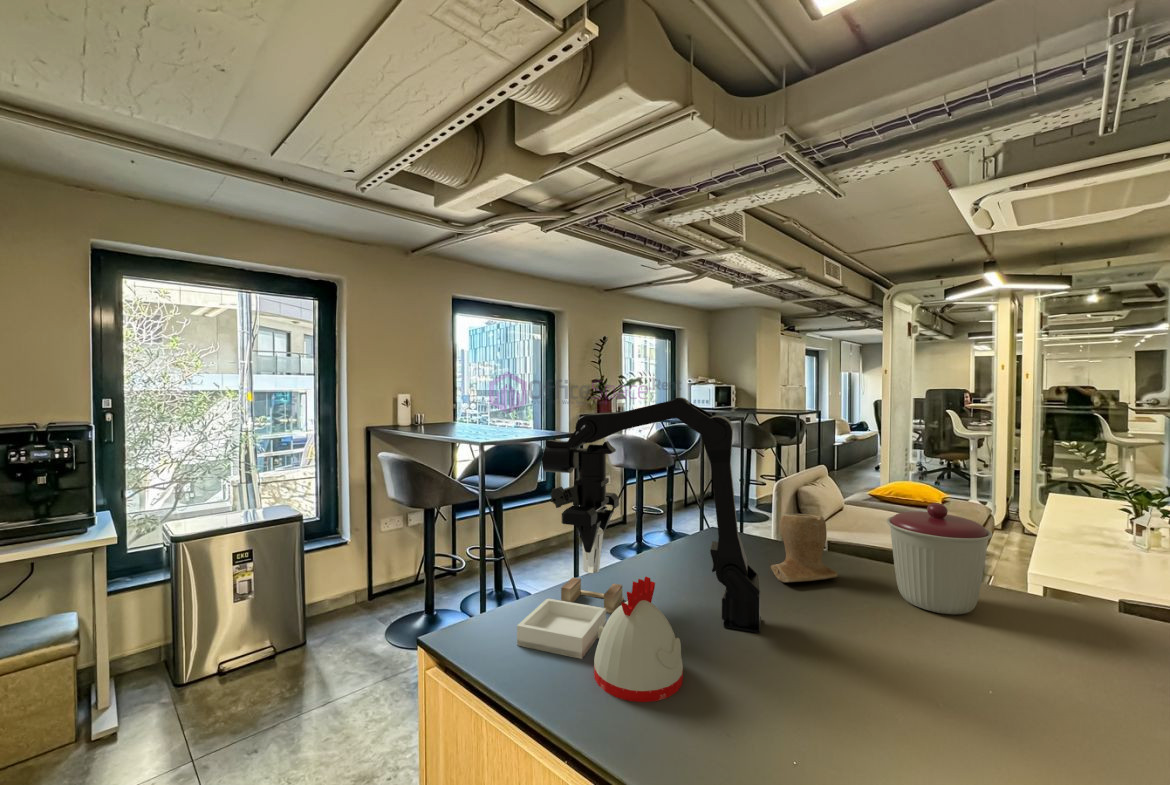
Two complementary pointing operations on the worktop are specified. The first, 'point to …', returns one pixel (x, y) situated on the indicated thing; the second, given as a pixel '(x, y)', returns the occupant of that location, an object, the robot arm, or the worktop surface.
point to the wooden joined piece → (592, 594)
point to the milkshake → (593, 555)
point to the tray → (561, 628)
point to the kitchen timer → (638, 650)
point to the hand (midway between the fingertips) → (592, 548)
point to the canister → (938, 559)
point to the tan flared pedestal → (803, 549)
